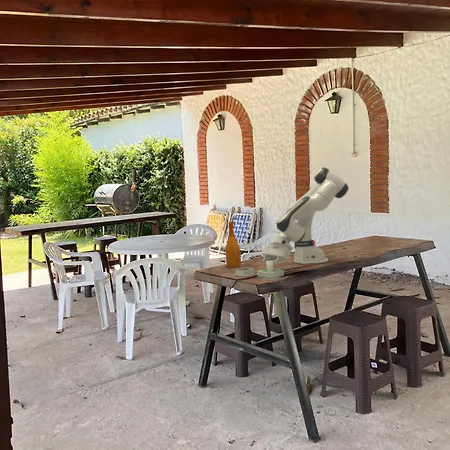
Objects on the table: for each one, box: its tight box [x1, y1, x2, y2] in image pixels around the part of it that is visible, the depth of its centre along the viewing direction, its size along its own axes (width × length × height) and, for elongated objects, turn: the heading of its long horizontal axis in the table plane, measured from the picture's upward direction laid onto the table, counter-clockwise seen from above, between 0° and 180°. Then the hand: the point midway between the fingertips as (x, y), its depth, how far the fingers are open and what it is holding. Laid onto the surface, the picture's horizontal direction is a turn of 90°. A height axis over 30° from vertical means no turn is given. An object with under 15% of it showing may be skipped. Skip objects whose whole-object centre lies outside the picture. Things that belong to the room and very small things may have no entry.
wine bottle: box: [224, 221, 242, 268], centre depth 337 cm, size 10×10×30 cm
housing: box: [235, 266, 255, 278], centre depth 308 cm, size 8×8×4 cm
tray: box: [256, 268, 285, 279], centre depth 300 cm, size 11×11×3 cm
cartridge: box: [265, 257, 275, 273], centre depth 299 cm, size 4×4×10 cm
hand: (269, 263), depth 299 cm, fingers open, 8 cm apart
